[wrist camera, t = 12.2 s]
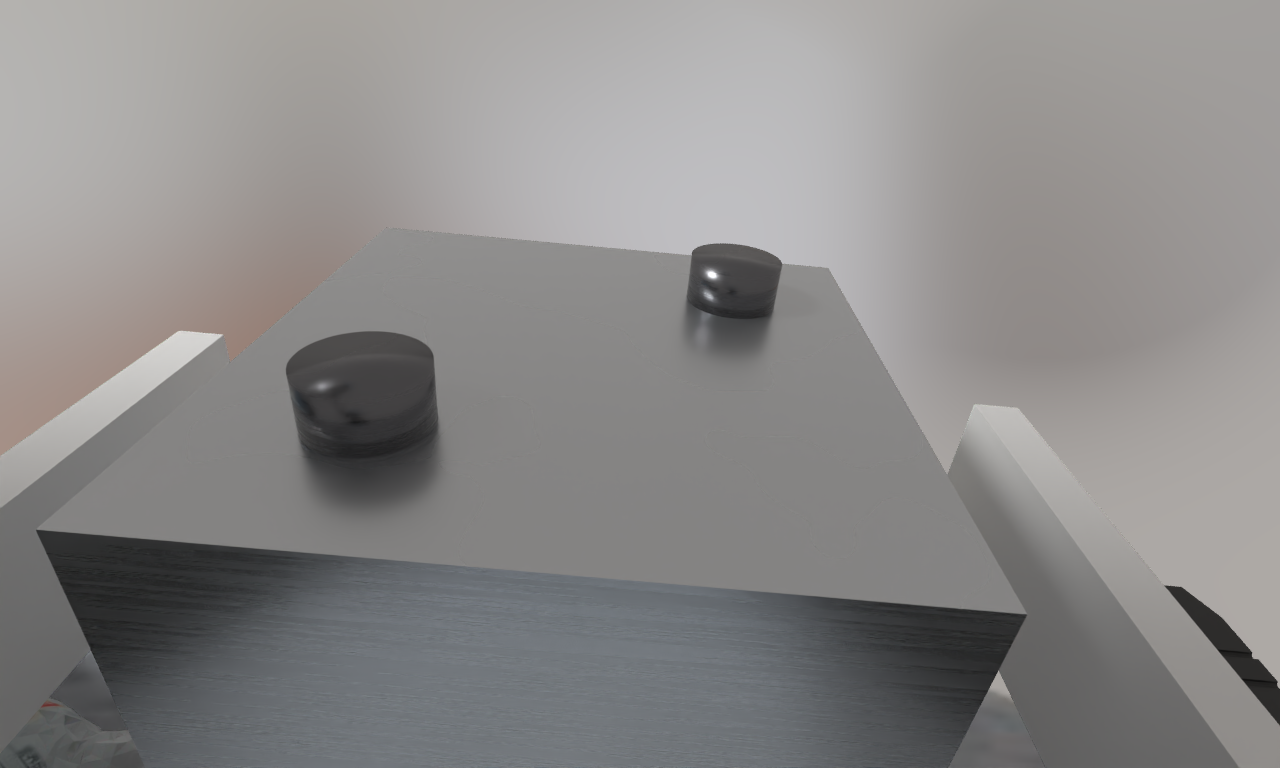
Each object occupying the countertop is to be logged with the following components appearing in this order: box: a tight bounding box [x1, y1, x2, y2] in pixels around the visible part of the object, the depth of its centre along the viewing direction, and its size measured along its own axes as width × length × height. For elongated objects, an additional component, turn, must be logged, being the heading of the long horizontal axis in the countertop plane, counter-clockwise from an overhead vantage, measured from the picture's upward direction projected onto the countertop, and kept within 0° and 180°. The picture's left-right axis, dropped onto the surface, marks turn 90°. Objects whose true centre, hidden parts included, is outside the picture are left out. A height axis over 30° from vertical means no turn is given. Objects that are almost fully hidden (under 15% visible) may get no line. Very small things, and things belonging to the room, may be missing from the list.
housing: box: [36, 228, 1027, 768], centre depth 11 cm, size 7×7×13 cm
